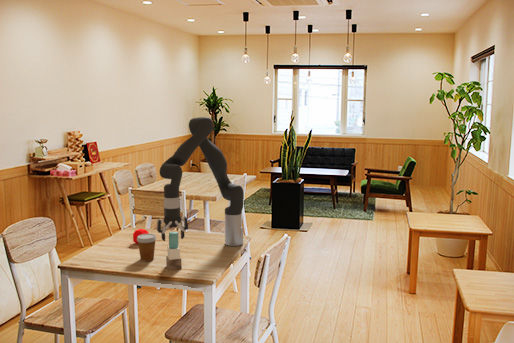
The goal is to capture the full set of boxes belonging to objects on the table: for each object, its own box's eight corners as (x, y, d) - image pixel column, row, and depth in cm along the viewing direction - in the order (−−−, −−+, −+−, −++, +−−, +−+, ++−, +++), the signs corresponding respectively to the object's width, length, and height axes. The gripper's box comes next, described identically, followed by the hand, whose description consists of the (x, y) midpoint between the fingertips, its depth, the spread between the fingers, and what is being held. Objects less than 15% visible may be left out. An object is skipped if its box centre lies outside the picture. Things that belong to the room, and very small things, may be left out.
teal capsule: (176, 245, 243) (177, 231, 242) (179, 248, 239) (179, 234, 238) (167, 246, 241) (167, 232, 240) (170, 249, 237) (170, 234, 236)
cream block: (177, 255, 244) (177, 245, 243) (180, 258, 239) (179, 248, 239) (167, 256, 242) (167, 246, 242) (169, 259, 238) (169, 249, 237)
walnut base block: (178, 264, 246) (178, 254, 245) (181, 268, 240) (181, 258, 239) (166, 266, 244) (166, 256, 243) (169, 270, 238) (168, 260, 237)
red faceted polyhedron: (151, 242, 279) (151, 229, 278) (141, 246, 273) (140, 233, 271) (141, 240, 284) (140, 227, 282) (130, 244, 277) (130, 230, 276)
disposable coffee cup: (147, 263, 247) (146, 240, 244) (133, 260, 252) (132, 237, 249) (161, 258, 254) (160, 235, 252) (147, 254, 259) (146, 232, 257)
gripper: (185, 203, 243) (186, 235, 245) (155, 205, 238) (156, 239, 240) (188, 206, 236) (189, 240, 239) (158, 209, 231) (159, 243, 234)
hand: (173, 239), depth 239 cm, fingers open, 8 cm apart
